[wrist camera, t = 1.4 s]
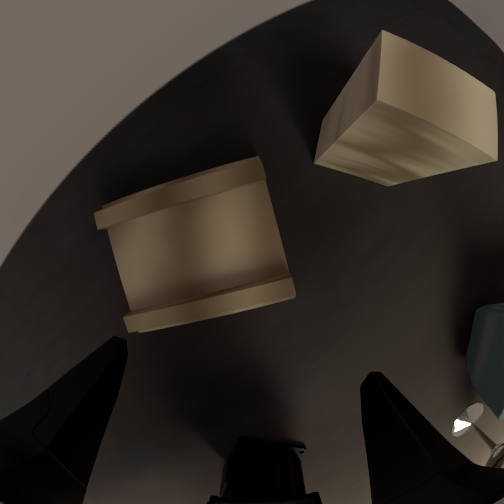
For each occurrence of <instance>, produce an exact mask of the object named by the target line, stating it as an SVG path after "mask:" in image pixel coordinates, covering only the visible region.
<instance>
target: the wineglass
mask: <svg viewBox="0 0 504 504" xmlns="http://www.w3.org/2000/svg"><path fill="white" fill-rule="evenodd" d="M482 413H483V405H482V403H475V404H473V405H471V406H469V407H468V408H467V409H466V410H465V411H463V413H462V414H461V415H460V416H459V417H458V419H457V420H456V421H455V423H454V426H453V429H452V434H453V435H454V436H461V435H464V434H465V433H467V432H468V431H470V430H471V429H472V428H474V429H475V431H476V432H477V433H478V434H479V435H480V437H481V438H482V439H483V440H484V441H485V443H486V444H487V445H488V446H489V447H490V449H491V450H492V451H491V456H490V458H489V460H488V461H487V463H486V465H485V466H486V467H496V468H504V443H503V444H496V443H495V442H493V441H492V440H491V439H490V438H489V437H488V436H487V435H486V434H485V433H484V432H483V431H482V430H480V429H479V428H478V427H477V426H476V424H477V422H478V421H479V419H480V417H481V415H482Z"/></svg>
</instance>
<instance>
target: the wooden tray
mask: <svg viewBox="0 0 504 504" xmlns="http://www.w3.org/2000/svg"><path fill="white" fill-rule="evenodd" d="M102 207H103V210H100V211H98V212H95V213H94V216H95V221H96V225H97V229H108V233H109V238H110V242H111V245H112V249H113V253H114V257H115V260H116V264H117V268H118V271H119V275H120V278H121V281H122V285H123V288H124V291H125V294H126V297H127V300H128V303H129V306H130V309H131V312H129V313H128V314H127V315H125V316H124V317H123V319H124V322H125V324H126V327H127V330H128V333H130V332H135V331H138V332H139V333H142V332H148V331H153V330H158V329H163V328H168V327H173V326H178V325H183V324H187V323H192V322H197V321H201V320H206V319H211V318H215V317H219V316H224V315H228V314H232V313H237V312H241V311H245V310H249V309H253V308H257V307H261V306H265V305H269V304H273V303H277V302H281V301H285V300H289V299H293V298H295V295H296V292H295V288H294V284H293V280H292V277H291V275H290V273H289V269H288V265H287V261H286V257H285V253H284V249H283V245H282V242H281V238H280V234H279V230H278V226H277V222H276V218H275V214H274V211H273V207H272V203H271V199H270V196H269V192H268V188H267V184H266V175H265V172H264V168H263V164H262V161H261V160H260V159H259V156H256V157H253V158H249V159H245V160H241V161H237V162H233V163H230V164H226V165H223V166H219V167H215V168H212V169H209V170H205V171H202V172H198V173H195V174H192V175H189V176H185V177H182V178H179V179H176V180H173V181H170V182H167V183H164V184H161V185H158V186H155V187H152V188H149V189H146V190H143V191H140V192H137V193H135V194H132V195H129V196H126V197H124V198H121V199H118V200H116V201H113V202H110V203H108V204H105V205H103V206H102Z"/></svg>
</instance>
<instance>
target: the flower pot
mask: <svg viewBox="0 0 504 504" xmlns="http://www.w3.org/2000/svg"><path fill="white" fill-rule="evenodd" d="M466 363H467V369H468V374H469V377H470V380H471V382H472V385H473V387H474V388H475V390H476V391H477V393H478V394H479V395H480V397H481V398H482V399H483V400H484V402H485V403H486V404H487V405H488V407H489V408H490V409H491V410H492V412H493V413H494V414H495V415H496V417H497V418H498V419H499V421H501V420H503V419H504V303H498V304H491V305H485V306H482V307H480V308H478V309H477V310H476V312H475V315H474V321H473V326H472V331H471V336H470V341H469V345H468V349H467V353H466Z"/></svg>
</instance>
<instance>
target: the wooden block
mask: <svg viewBox="0 0 504 504" xmlns="http://www.w3.org/2000/svg"><path fill="white" fill-rule="evenodd" d="M497 155H498V133H497V110H496V98H495V92H494V91H493V90H491V89H490V88H488V87H487V86H486V85H484V84H483V83H481V82H480V81H478V80H477V79H475V78H474V77H472V76H471V75H469V74H468V73H466V72H464V71H463V70H461V69H460V68H458V67H456V66H455V65H453V64H451V63H449V62H448V61H446V60H444V59H442V58H441V57H439V56H437V55H435V54H433V53H431V52H429V51H427V50H426V49H424V48H422V47H420V46H417V45H415V44H413V43H411V42H409V41H407V40H405V39H402V38H400V37H398V36H396V35H393V34H391V33H389V32H386V31H384V30H382V31H381V33H380V34H379V36H378V37H377V38H376V40H375V41H374V43H373V44H372V46H371V47H370V49H369V50H368V52H367V54H366V55H365V57H364V58H363V60H362V61H361V63H360V64H359V66H358V67H357V69H356V70H355V72H354V73H353V75H352V76H351V78H350V79H349V81H348V82H347V84H346V85H345V87H344V88H343V90H342V91H341V93H340V94H339V96H338V98H337V99H336V101H335V102H334V104H333V105H332V107H331V108H330V110H329V111H328V113H327V114H326V116H325V117H324V119H323V121H322V126H321V131H320V136H319V141H318V145H317V150H316V155H315V160H314V164H318V165H321V166H325V167H328V168H332V169H335V170H339V171H342V172H345V173H349V174H352V175H355V176H358V177H361V178H364V179H367V180H370V181H373V182H376V183H379V184H382V185H385V186H391V185H395V184H399V183H403V182H407V181H411V180H415V179H420V178H424V177H428V176H432V175H436V174H441V173H445V172H449V171H453V170H458V169H462V168H467V167H471V166H475V165H480V164H485V163H489V162H494V161H497Z"/></svg>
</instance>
